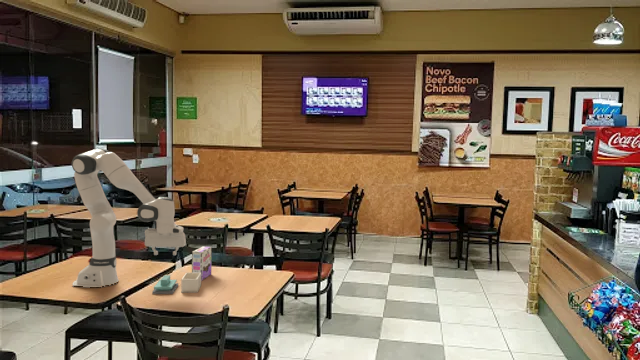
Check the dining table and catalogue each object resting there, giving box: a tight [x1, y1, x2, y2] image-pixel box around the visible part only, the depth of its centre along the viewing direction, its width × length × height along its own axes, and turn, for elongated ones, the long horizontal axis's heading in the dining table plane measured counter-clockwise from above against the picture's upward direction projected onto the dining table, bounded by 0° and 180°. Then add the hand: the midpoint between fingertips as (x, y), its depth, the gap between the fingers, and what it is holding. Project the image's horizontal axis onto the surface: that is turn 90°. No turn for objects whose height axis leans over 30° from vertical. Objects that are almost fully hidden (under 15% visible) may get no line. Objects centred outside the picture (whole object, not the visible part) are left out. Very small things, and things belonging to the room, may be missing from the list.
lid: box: [153, 274, 178, 291], centre depth 249 cm, size 9×13×5 cm
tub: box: [180, 272, 202, 294], centre depth 251 cm, size 8×12×7 cm, turn 5°
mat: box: [151, 282, 179, 295], centre depth 249 cm, size 10×14×1 cm
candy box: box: [191, 246, 212, 282], centre depth 272 cm, size 14×6×16 cm, turn 168°
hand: (165, 254), depth 248 cm, fingers open, 8 cm apart
